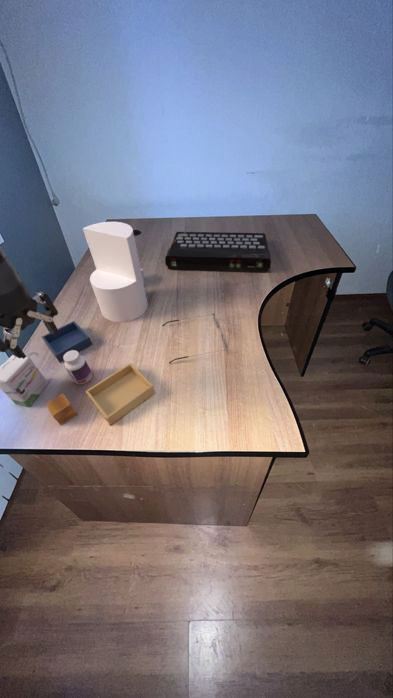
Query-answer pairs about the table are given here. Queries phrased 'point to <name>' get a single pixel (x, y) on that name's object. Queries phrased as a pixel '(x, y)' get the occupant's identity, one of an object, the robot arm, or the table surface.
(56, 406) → the ochre block
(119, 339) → the table surface
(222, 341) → the eyeglasses
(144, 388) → the sand bin
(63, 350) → the slate bin
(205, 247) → the computer keyboard
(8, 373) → the ink box
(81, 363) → the pill bottle
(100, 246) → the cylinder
